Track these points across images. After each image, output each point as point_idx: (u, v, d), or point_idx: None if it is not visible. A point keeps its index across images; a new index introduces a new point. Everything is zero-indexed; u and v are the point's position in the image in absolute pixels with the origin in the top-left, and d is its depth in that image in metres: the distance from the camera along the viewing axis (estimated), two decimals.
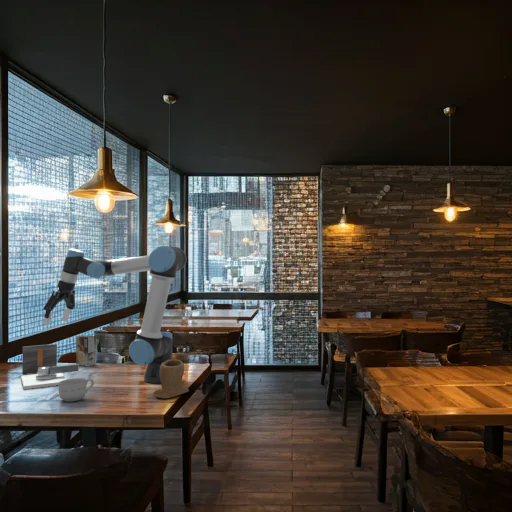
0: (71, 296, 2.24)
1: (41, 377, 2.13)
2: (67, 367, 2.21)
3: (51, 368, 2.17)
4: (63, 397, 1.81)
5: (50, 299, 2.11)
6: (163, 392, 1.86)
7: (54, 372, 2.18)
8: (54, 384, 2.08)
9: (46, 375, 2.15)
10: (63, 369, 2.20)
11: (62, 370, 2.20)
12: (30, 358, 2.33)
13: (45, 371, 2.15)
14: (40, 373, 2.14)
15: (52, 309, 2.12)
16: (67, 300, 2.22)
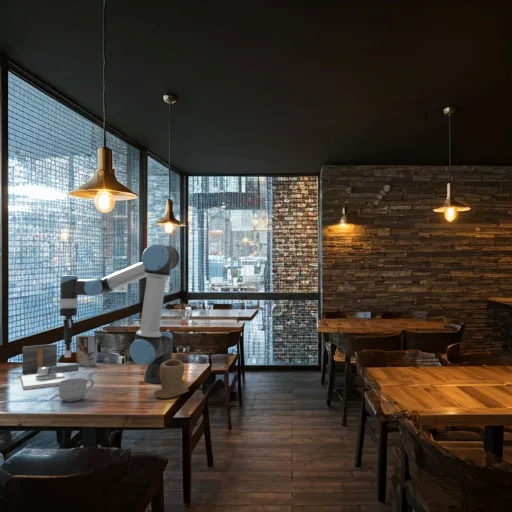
0: None
1: (41, 377, 2.13)
2: (67, 367, 2.21)
3: (51, 368, 2.17)
4: (63, 397, 1.81)
5: (68, 332, 2.12)
6: (163, 392, 1.86)
7: (54, 372, 2.18)
8: (54, 384, 2.08)
9: (46, 375, 2.15)
10: (63, 369, 2.20)
11: (62, 370, 2.20)
12: (30, 358, 2.33)
13: (45, 371, 2.15)
14: (40, 373, 2.14)
15: None
16: None
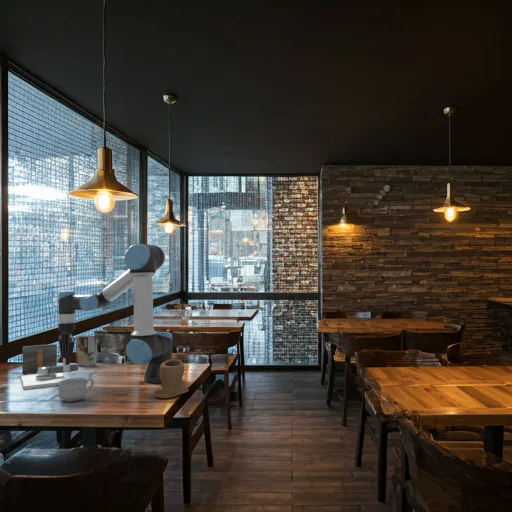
0: None
1: (42, 377, 2.13)
2: None
3: (51, 368, 2.18)
4: (63, 397, 1.81)
5: (70, 347, 2.17)
6: (163, 392, 1.86)
7: (54, 372, 2.18)
8: (54, 384, 2.08)
9: (46, 375, 2.15)
10: None
11: (62, 370, 2.20)
12: (30, 358, 2.33)
13: (45, 371, 2.15)
14: (40, 373, 2.14)
15: None
16: None
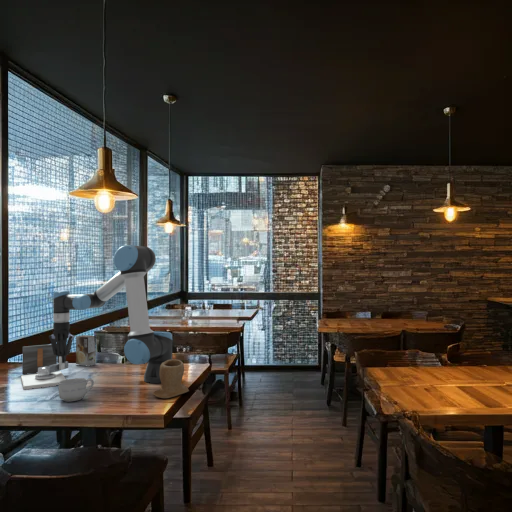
0: (54, 341, 2.27)
1: (47, 376, 2.15)
2: None
3: (50, 367, 2.19)
4: (63, 397, 1.81)
5: (69, 344, 2.25)
6: (163, 392, 1.86)
7: (52, 371, 2.21)
8: (54, 384, 2.08)
9: (49, 374, 2.17)
10: (58, 367, 2.24)
11: (57, 368, 2.24)
12: (30, 358, 2.33)
13: (48, 370, 2.16)
14: (44, 373, 2.15)
15: None
16: None
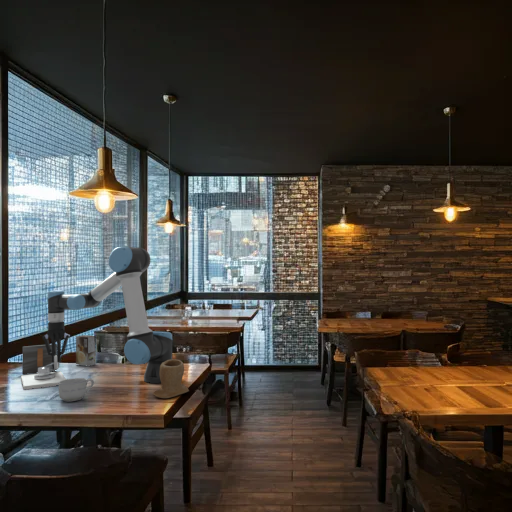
0: (48, 341, 2.27)
1: (49, 376, 2.15)
2: None
3: (48, 367, 2.20)
4: (63, 397, 1.81)
5: (65, 344, 2.27)
6: (163, 392, 1.86)
7: (50, 371, 2.21)
8: (54, 384, 2.08)
9: (49, 374, 2.18)
10: (53, 367, 2.25)
11: (53, 368, 2.25)
12: (30, 358, 2.33)
13: (49, 370, 2.17)
14: (46, 373, 2.15)
15: None
16: (55, 342, 2.27)
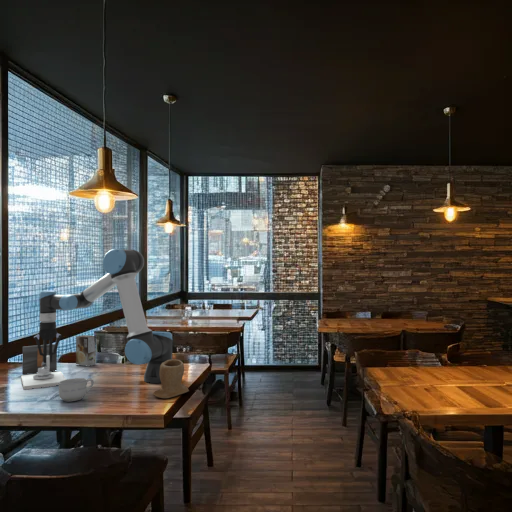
0: None
1: (50, 375, 2.17)
2: None
3: (46, 367, 2.20)
4: (63, 397, 1.81)
5: (58, 343, 2.29)
6: (163, 392, 1.86)
7: None
8: (54, 384, 2.08)
9: None
10: None
11: None
12: (30, 358, 2.33)
13: None
14: (48, 372, 2.16)
15: None
16: None
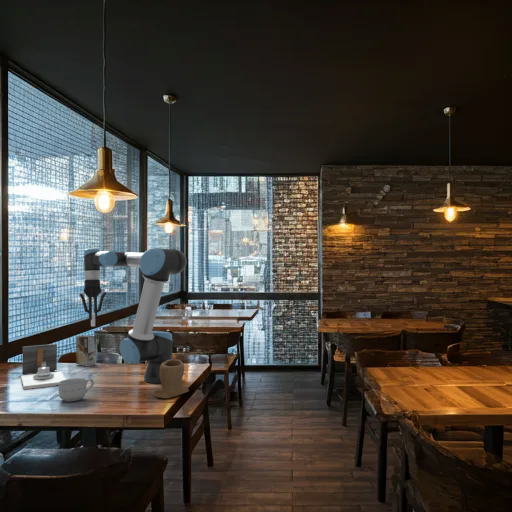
0: None
1: (50, 375, 2.17)
2: None
3: (46, 367, 2.20)
4: (63, 397, 1.81)
5: None
6: (163, 392, 1.86)
7: None
8: (54, 384, 2.08)
9: None
10: None
11: None
12: (30, 358, 2.33)
13: None
14: (48, 372, 2.16)
15: (94, 309, 2.30)
16: None
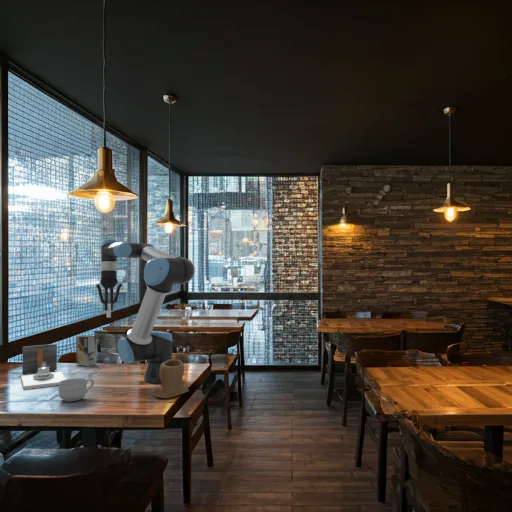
0: None
1: (50, 375, 2.17)
2: None
3: (46, 367, 2.20)
4: (63, 397, 1.81)
5: None
6: (163, 392, 1.86)
7: None
8: (54, 384, 2.08)
9: None
10: None
11: None
12: (30, 358, 2.33)
13: None
14: (48, 372, 2.16)
15: (110, 300, 2.29)
16: None
